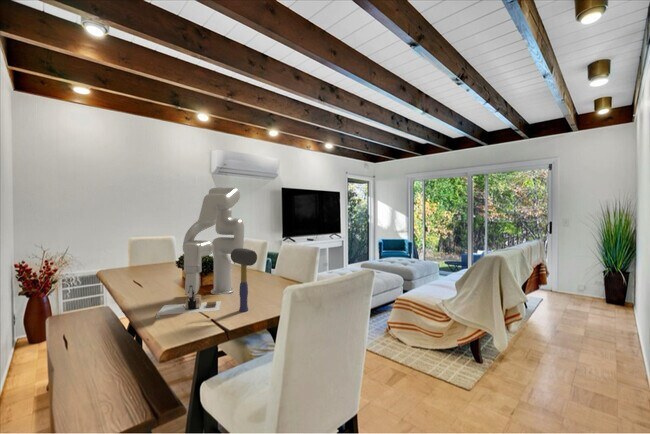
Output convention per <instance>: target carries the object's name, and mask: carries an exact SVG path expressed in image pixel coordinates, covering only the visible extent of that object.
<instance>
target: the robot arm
mask: <svg viewBox="0 0 650 434" xmlns="http://www.w3.org/2000/svg"><path fill="white" fill-rule="evenodd" d="M240 197H241V193H240V190H239V189H238V187H225V186H224V187H221V186H220V187H212V188H210V189H208V194H205V196H204V197H203V200H202V203H201V208H200V213H199V216H198V220H197V221H195V222H194V223H193V224H192V225H191V226H190V227H189V228H188V230H187V231H186V233H185V235H184V238H183V243H182V252H183V273H184V274H185V281H184V282H185V284H184V295H186V296H189V297H188V310H193V309H196V300H195V295H199V294H198V292H199V290H200V273H201V272H202V268H203V267H202V263H203V261H202V257H209V256H210V255H211V254H212V255H213V256H212V257H213V288H212V289H211V290H210V293H211V294H212V295H215V296H216V295H218V296H219V295H229V294H232V293H234V291H235V289H234V288H233V287H232V260H231V257H230V256H229V255H231V252H232V251H233V250H234V249H236V248H243V249H244V246H245V245H244V243H245V242H244V238H245V223H244V221H243V220H242V219H241V218H233V217H232V212H233V211H232V208H233V207H234V206H235V205H236V204H237V203H238V202H239V200H240ZM214 225H215V233H216V234H217V235H222V236H223V237H222V236H220V237H216V238H214V239H213V240H212V241H209V240H195V239H196V237H197V236H198V235H199V233H201V232H203V231H205V230H207V229H209V228H212V227H214ZM228 236H233V237H228ZM192 295H194V297H193V296H192Z"/></svg>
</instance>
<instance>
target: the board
mask: <svg viewBox="0 0 650 434" xmlns="http://www.w3.org/2000/svg"><path fill="white" fill-rule="evenodd" d="M215 302H216V307H211V308H206V304H207V301H205V302H204V301H203V302H201V306H200V308H199V309H193V310H188V309H186V310H185V303H178V304H176V303H175V304H174V303H173V304H164V305H163V306H162V307H161V309H160V310H159V311H158V312H157V314H156V315H155V319H160V317H161V316H162V315H163V316H165V315H174V314H175V315H177V314H189V313H191V314H192V313H201V312H203V313H204V312H216V311H219V310H220V309H221V308H220V307H221V305H222V300H220V301H219V300H218V301H215Z"/></svg>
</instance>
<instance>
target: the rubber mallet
mask: <svg viewBox="0 0 650 434" xmlns="http://www.w3.org/2000/svg"><path fill="white" fill-rule="evenodd" d="M230 260H231V262H233V263H235V264H238V265H240V284H239V309H238V310H239V313H246V312H248V311H249V306H248V296H249V295H248V294H249V288H248V286H249V285H248V278H247V277H248V275H247V271H248V270H247V266H251V267H252V266H253V265H255V263H256V262H257V260H258V254H257V253H256V251H254V250H253V249H252V250H251V249H249V248H244V247H243V248H236V249H234V250H233V251H232V252H231V254H230Z"/></svg>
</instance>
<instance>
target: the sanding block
mask: <svg viewBox="0 0 650 434" xmlns="http://www.w3.org/2000/svg"><path fill="white" fill-rule="evenodd" d="M192 296H193V297H194V295H192ZM188 297H189V295H186V297H185V301H184V302H185V303H184V304H185V310H186V309H188ZM195 300H196V309H199V308H200V306H201V303H202V294H198V295H195Z"/></svg>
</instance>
